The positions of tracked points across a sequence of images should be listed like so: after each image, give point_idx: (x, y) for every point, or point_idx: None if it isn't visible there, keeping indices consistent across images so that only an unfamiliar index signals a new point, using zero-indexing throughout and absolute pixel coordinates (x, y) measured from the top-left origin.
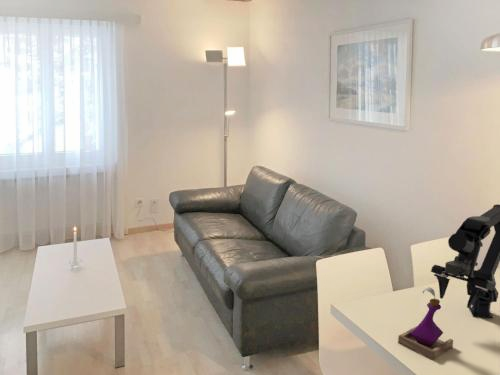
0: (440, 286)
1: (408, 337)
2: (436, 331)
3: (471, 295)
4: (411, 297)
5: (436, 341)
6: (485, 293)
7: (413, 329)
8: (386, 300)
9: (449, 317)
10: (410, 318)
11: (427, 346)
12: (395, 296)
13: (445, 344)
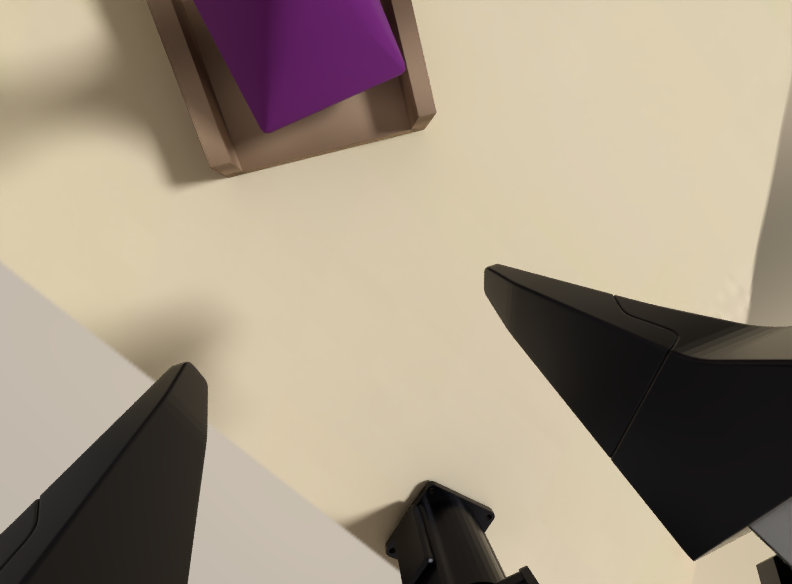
0: (616, 307)
1: None
2: (227, 22)
3: (38, 533)
4: None
5: (292, 123)
6: None
7: (406, 32)
8: (712, 216)
9: (469, 378)
10: (541, 196)
11: None
12: (716, 283)
13: (177, 75)
